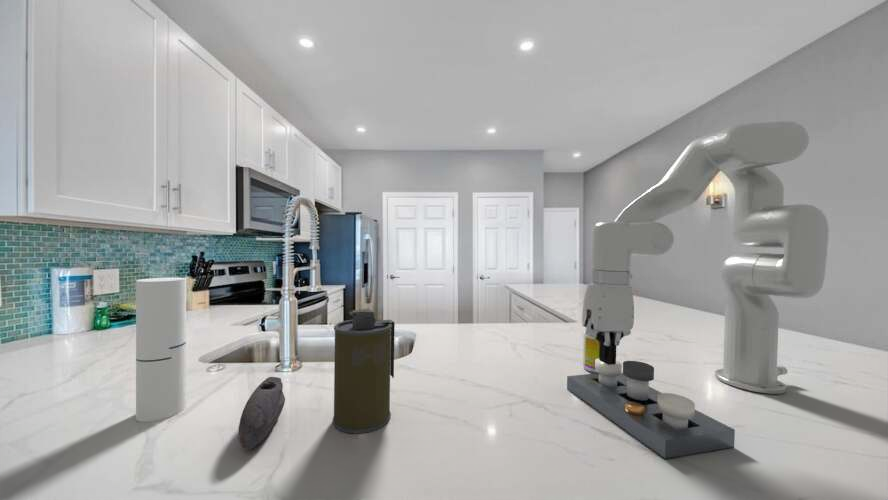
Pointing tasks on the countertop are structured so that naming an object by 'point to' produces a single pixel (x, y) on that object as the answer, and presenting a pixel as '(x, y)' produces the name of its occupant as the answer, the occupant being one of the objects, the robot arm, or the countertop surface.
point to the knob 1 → (608, 373)
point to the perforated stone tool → (261, 412)
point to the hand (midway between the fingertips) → (607, 362)
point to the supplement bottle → (590, 352)
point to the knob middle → (638, 378)
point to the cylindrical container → (160, 348)
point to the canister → (363, 372)
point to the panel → (651, 419)
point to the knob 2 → (675, 409)
